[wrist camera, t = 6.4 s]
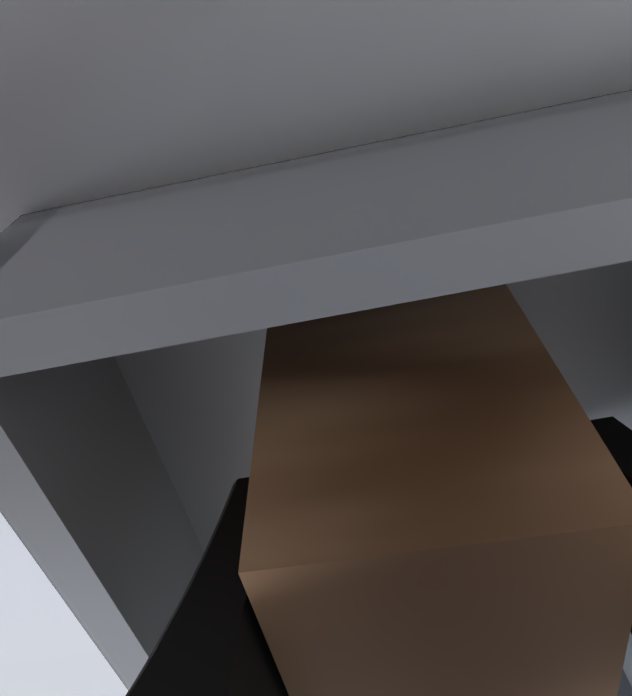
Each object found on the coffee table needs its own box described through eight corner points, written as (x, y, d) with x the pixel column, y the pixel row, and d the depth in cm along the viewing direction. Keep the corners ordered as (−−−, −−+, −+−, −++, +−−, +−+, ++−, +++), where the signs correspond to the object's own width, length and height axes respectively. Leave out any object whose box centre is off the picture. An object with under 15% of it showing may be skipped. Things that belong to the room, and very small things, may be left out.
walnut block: (311, 469, 14) (311, 750, 9) (269, 309, 12) (237, 572, 7) (500, 443, 14) (611, 722, 9) (497, 271, 11) (653, 521, 6)
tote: (254, 694, 21) (246, 855, 17) (21, 215, 11) (-122, 342, 7) (627, 641, 20) (707, 800, 16) (732, 69, 10) (1002, 126, 6)
